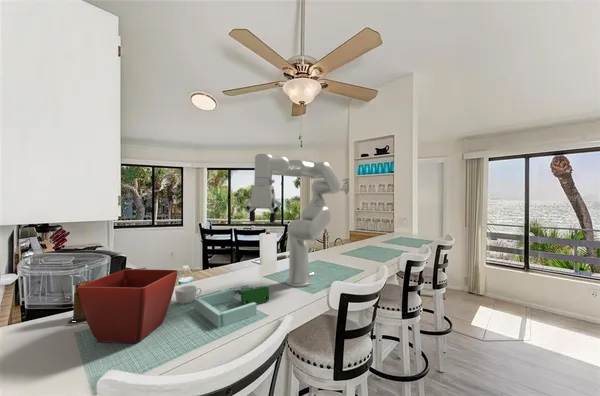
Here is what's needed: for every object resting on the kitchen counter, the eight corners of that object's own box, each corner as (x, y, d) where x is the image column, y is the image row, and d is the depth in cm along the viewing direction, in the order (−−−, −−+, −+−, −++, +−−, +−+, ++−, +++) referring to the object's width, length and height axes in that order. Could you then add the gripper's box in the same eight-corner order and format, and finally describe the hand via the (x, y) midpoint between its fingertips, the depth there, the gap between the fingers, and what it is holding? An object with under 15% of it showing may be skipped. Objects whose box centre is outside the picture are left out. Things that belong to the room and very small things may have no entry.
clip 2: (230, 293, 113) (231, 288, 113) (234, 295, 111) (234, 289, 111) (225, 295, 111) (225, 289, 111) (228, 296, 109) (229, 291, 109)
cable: (250, 288, 119) (250, 286, 119) (256, 291, 115) (256, 289, 115) (196, 302, 102) (196, 300, 102) (202, 306, 98) (202, 304, 98)
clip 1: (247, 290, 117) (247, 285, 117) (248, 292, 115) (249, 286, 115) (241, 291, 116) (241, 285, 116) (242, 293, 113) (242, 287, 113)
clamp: (260, 309, 107) (266, 287, 111) (266, 311, 102) (272, 287, 106) (233, 302, 102) (240, 279, 106) (238, 304, 97) (245, 279, 101)
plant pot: (123, 317, 89) (124, 268, 89) (178, 318, 88) (179, 269, 89) (73, 348, 70) (75, 286, 70) (142, 350, 69) (143, 288, 70)
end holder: (229, 299, 106) (229, 289, 106) (256, 314, 92) (256, 303, 92) (194, 309, 96) (194, 298, 96) (218, 328, 82) (218, 315, 82)
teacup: (178, 307, 98) (178, 293, 98) (172, 301, 103) (172, 288, 103) (204, 300, 104) (204, 287, 104) (197, 295, 110) (197, 282, 110)
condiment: (100, 312, 93) (100, 278, 93) (93, 322, 85) (94, 285, 85) (74, 315, 90) (74, 281, 90) (64, 326, 82) (65, 288, 82)
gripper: (284, 183, 112) (283, 222, 112) (250, 183, 118) (249, 220, 118) (277, 181, 105) (276, 223, 105) (241, 182, 111) (240, 221, 111)
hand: (262, 221), depth 112 cm, fingers open, 9 cm apart
